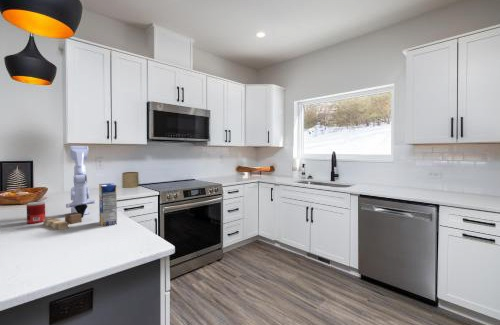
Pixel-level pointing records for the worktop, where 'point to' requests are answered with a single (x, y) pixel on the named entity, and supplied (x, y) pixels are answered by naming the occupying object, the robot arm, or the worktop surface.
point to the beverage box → (108, 204)
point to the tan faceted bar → (55, 223)
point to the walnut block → (73, 218)
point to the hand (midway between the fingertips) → (81, 217)
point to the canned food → (35, 212)
